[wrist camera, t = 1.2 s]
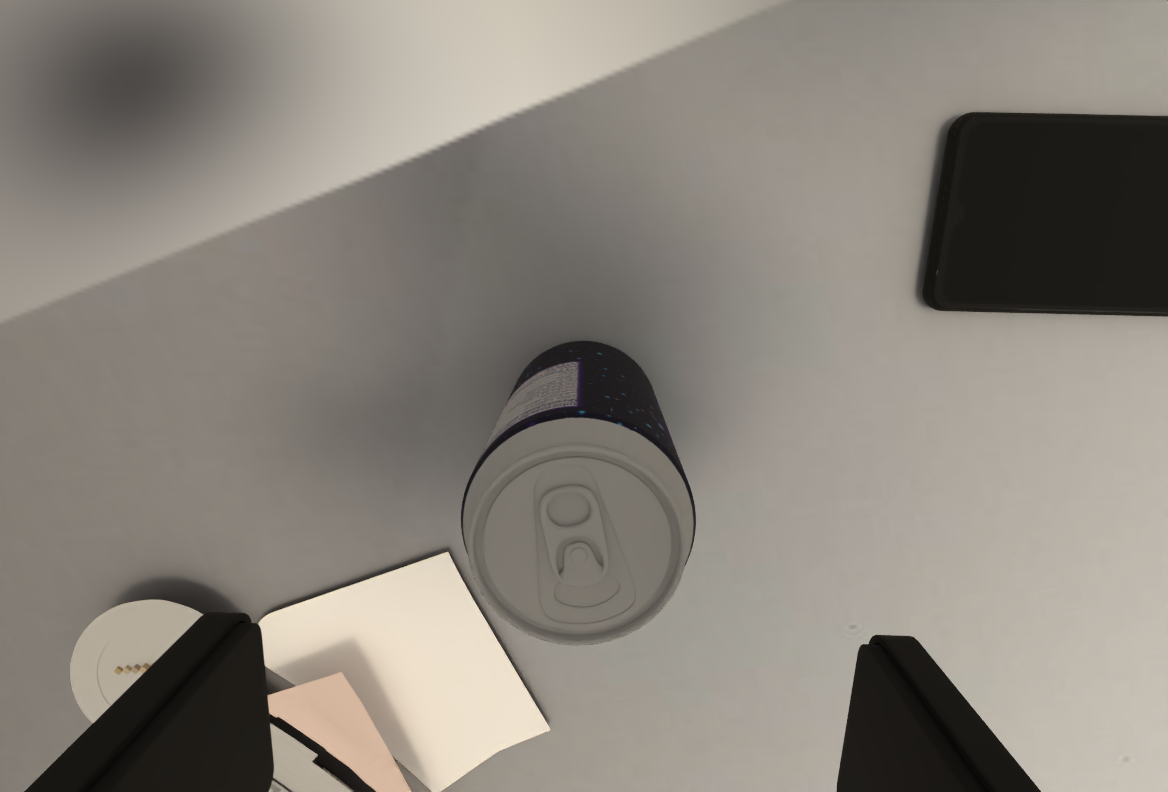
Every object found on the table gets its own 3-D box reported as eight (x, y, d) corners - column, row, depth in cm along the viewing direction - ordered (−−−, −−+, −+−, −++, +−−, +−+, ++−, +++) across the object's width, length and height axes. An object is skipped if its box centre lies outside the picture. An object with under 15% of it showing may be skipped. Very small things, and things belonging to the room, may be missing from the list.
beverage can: (529, 484, 27) (481, 678, 15) (499, 351, 26) (421, 454, 14) (664, 460, 27) (721, 641, 15) (641, 325, 25) (684, 407, 14)
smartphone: (1334, 321, 24) (926, 311, 24) (1309, 318, 25) (915, 308, 25) (1399, 119, 22) (959, 109, 22) (1371, 123, 23) (945, 113, 23)
